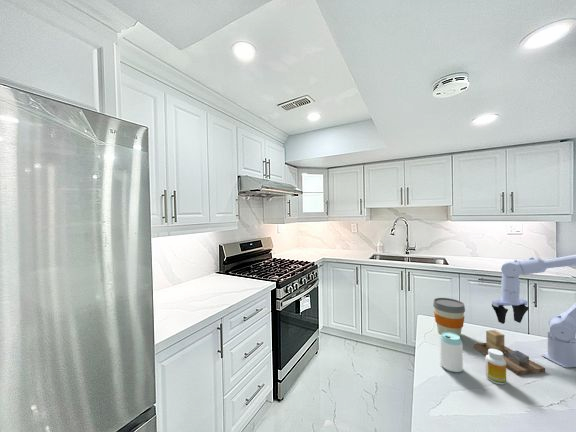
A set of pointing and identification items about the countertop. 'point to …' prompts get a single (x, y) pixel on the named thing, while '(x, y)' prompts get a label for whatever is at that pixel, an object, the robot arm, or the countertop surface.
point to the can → (451, 352)
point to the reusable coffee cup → (449, 315)
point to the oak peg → (495, 340)
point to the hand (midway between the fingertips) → (509, 322)
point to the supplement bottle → (495, 366)
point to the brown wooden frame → (510, 365)
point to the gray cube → (518, 358)
